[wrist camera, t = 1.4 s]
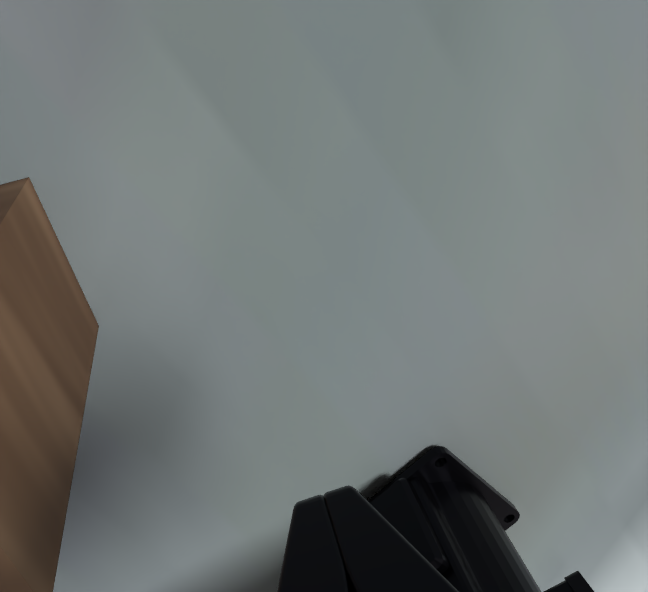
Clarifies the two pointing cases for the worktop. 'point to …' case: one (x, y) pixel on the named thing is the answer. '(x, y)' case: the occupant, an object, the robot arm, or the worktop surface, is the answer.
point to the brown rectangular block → (37, 388)
